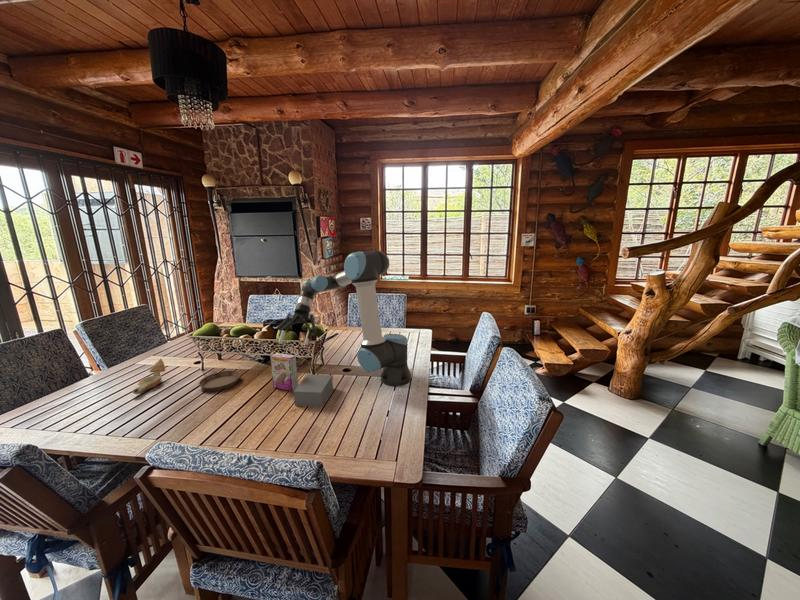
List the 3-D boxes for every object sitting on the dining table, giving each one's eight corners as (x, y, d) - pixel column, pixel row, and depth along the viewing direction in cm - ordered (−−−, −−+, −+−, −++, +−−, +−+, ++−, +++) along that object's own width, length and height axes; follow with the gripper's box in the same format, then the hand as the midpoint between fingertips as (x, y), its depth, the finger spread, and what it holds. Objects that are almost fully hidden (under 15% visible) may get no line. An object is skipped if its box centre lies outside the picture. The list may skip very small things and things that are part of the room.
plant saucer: (191, 387, 153) (190, 382, 152) (226, 373, 168) (225, 367, 167) (214, 396, 145) (213, 390, 144) (248, 380, 160) (247, 374, 159)
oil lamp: (173, 376, 164) (169, 358, 162) (145, 397, 144) (140, 377, 141) (155, 377, 164) (151, 359, 161) (124, 398, 143) (119, 378, 141)
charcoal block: (333, 388, 151) (332, 375, 149) (322, 407, 136) (320, 392, 134) (308, 387, 152) (307, 374, 151) (294, 406, 137) (293, 391, 135)
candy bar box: (272, 388, 151) (269, 356, 148) (279, 383, 156) (276, 352, 152) (292, 392, 148) (289, 359, 144) (299, 387, 152) (296, 355, 149)
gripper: (328, 311, 171) (319, 347, 160) (284, 309, 174) (272, 345, 163) (323, 304, 164) (314, 341, 153) (278, 302, 168) (266, 339, 157)
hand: (292, 343), depth 158 cm, fingers open, 13 cm apart
